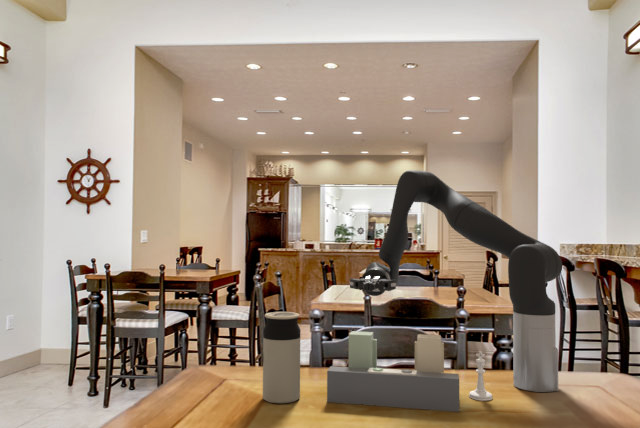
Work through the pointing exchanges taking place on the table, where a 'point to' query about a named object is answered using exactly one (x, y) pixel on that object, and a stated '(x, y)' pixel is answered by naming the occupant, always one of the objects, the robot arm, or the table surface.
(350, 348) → the sage key
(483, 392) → the chess piece
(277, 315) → the travel mug
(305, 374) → the table surface
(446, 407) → the console
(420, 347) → the sand key
